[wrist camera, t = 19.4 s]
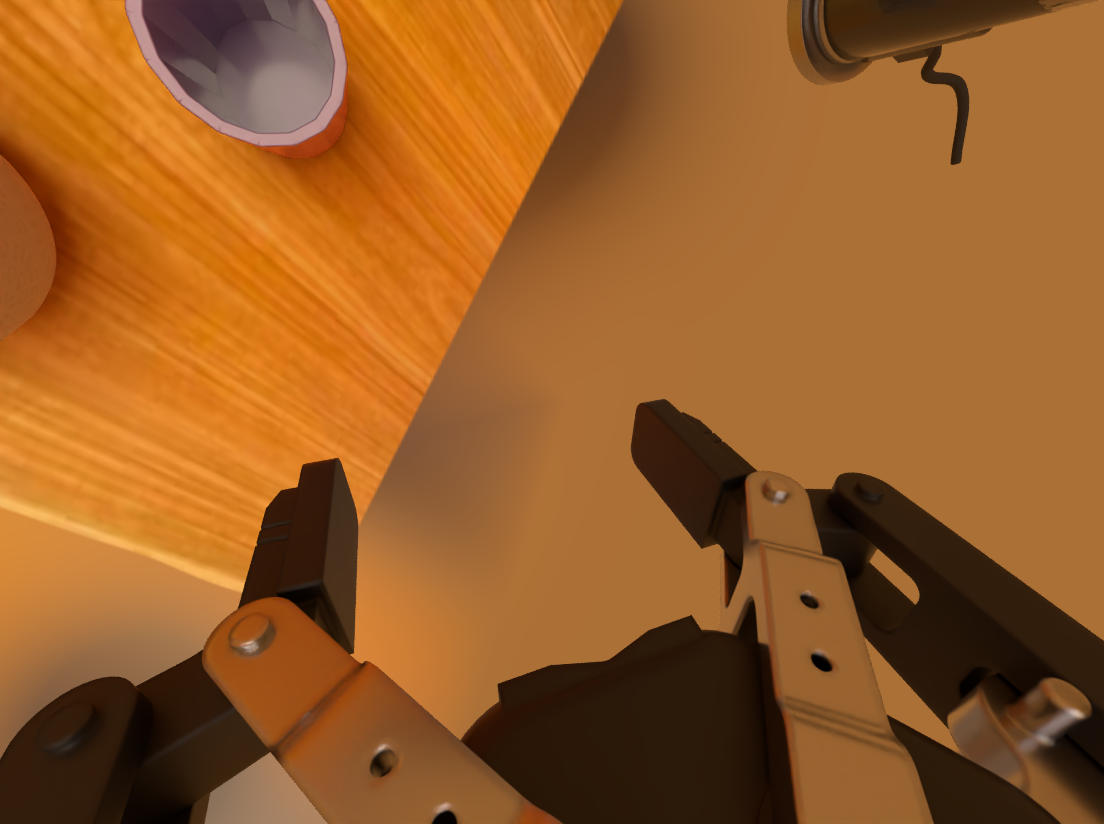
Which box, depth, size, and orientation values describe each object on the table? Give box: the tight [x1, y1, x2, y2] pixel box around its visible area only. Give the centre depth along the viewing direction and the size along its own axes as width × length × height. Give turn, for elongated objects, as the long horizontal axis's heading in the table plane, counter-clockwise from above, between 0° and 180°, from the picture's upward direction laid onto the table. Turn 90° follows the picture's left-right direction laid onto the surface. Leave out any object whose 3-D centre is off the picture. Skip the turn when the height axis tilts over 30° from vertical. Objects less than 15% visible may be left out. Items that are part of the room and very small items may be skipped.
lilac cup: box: [125, 0, 348, 158], centre depth 19 cm, size 6×6×10 cm
